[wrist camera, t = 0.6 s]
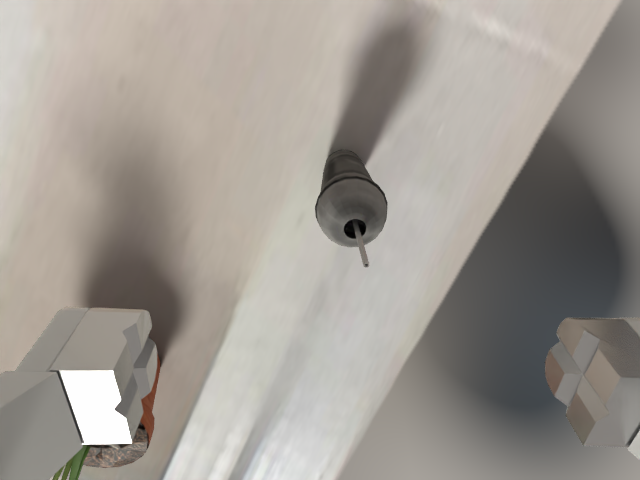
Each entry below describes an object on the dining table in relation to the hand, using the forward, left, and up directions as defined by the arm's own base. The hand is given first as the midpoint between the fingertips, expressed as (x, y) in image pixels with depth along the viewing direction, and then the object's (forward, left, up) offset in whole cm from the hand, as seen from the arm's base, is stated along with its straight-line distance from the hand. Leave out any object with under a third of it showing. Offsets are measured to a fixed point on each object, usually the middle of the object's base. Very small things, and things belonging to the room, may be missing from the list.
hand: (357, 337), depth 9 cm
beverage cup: (+14, +4, -46) cm, 48 cm away
